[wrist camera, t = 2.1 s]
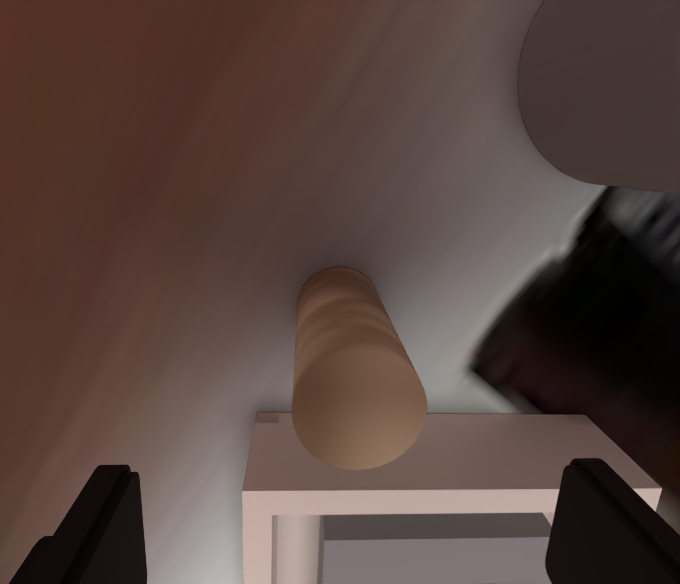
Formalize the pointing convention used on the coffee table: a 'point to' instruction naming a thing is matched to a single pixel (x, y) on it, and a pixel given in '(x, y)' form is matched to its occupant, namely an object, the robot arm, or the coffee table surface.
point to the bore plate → (433, 548)
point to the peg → (352, 375)
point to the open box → (412, 481)
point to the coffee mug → (605, 90)
